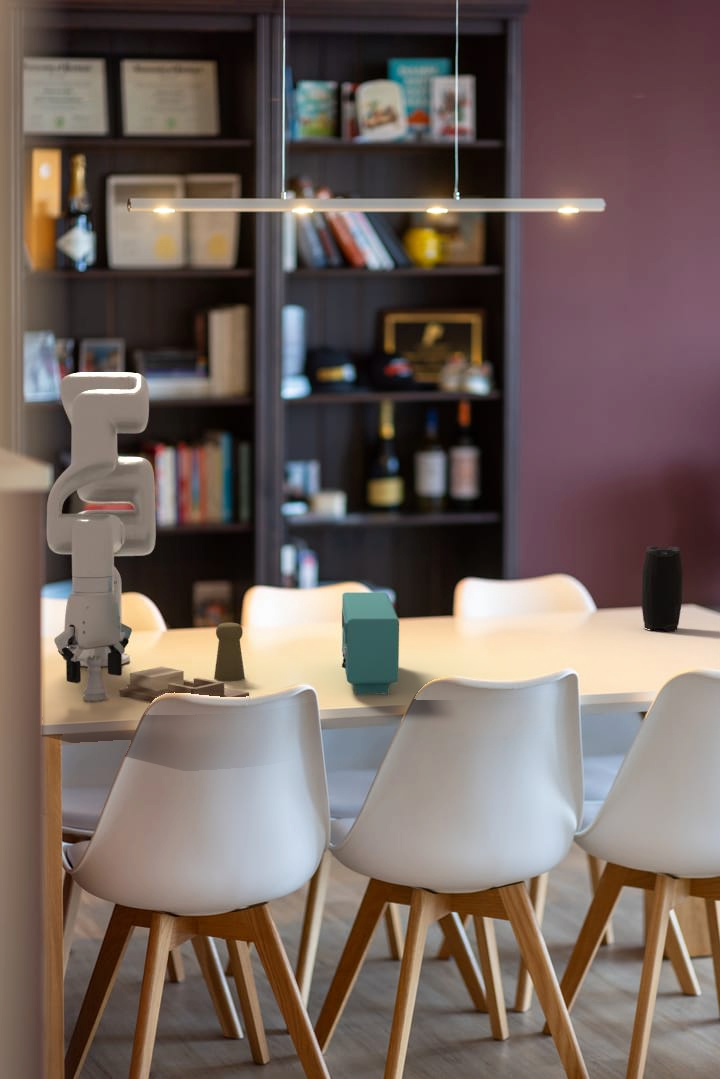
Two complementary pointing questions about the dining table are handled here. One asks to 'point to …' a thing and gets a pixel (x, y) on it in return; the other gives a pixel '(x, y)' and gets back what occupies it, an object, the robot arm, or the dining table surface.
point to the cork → (229, 653)
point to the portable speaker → (662, 588)
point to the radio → (370, 642)
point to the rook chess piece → (94, 681)
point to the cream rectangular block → (157, 678)
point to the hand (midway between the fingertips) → (94, 678)
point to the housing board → (182, 690)
